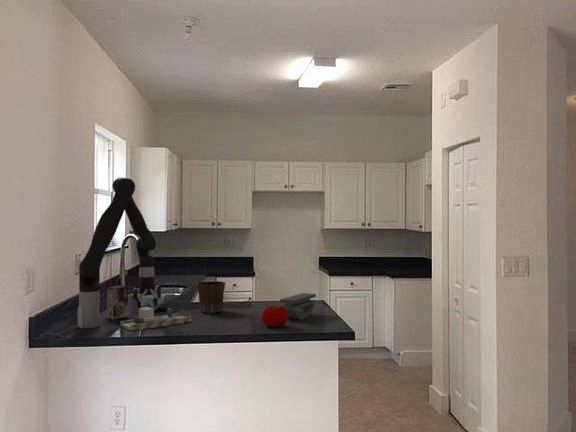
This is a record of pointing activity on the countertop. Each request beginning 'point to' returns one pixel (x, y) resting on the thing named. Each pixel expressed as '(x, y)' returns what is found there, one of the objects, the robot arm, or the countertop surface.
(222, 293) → the plant pot
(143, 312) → the link block
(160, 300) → the chinaware
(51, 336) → the countertop surface
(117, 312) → the coffee box
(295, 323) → the countertop surface
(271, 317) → the tomato
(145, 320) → the carriage
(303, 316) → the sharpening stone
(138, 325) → the rail base
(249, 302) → the countertop surface
